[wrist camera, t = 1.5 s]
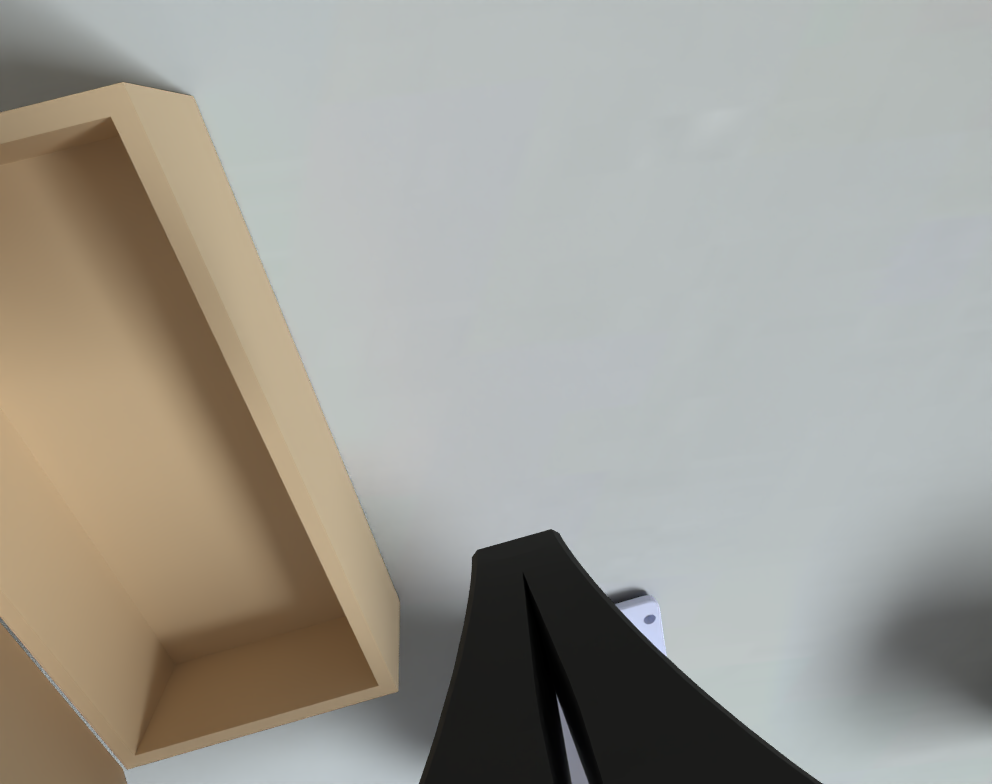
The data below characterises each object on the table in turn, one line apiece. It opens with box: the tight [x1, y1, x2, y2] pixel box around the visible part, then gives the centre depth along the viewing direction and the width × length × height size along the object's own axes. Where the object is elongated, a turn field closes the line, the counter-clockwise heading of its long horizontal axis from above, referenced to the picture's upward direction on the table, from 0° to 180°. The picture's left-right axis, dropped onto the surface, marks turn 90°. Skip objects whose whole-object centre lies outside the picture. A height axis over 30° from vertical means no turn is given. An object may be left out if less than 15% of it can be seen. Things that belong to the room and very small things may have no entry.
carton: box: [0, 82, 400, 770], centre depth 17 cm, size 18×9×4 cm, turn 13°
